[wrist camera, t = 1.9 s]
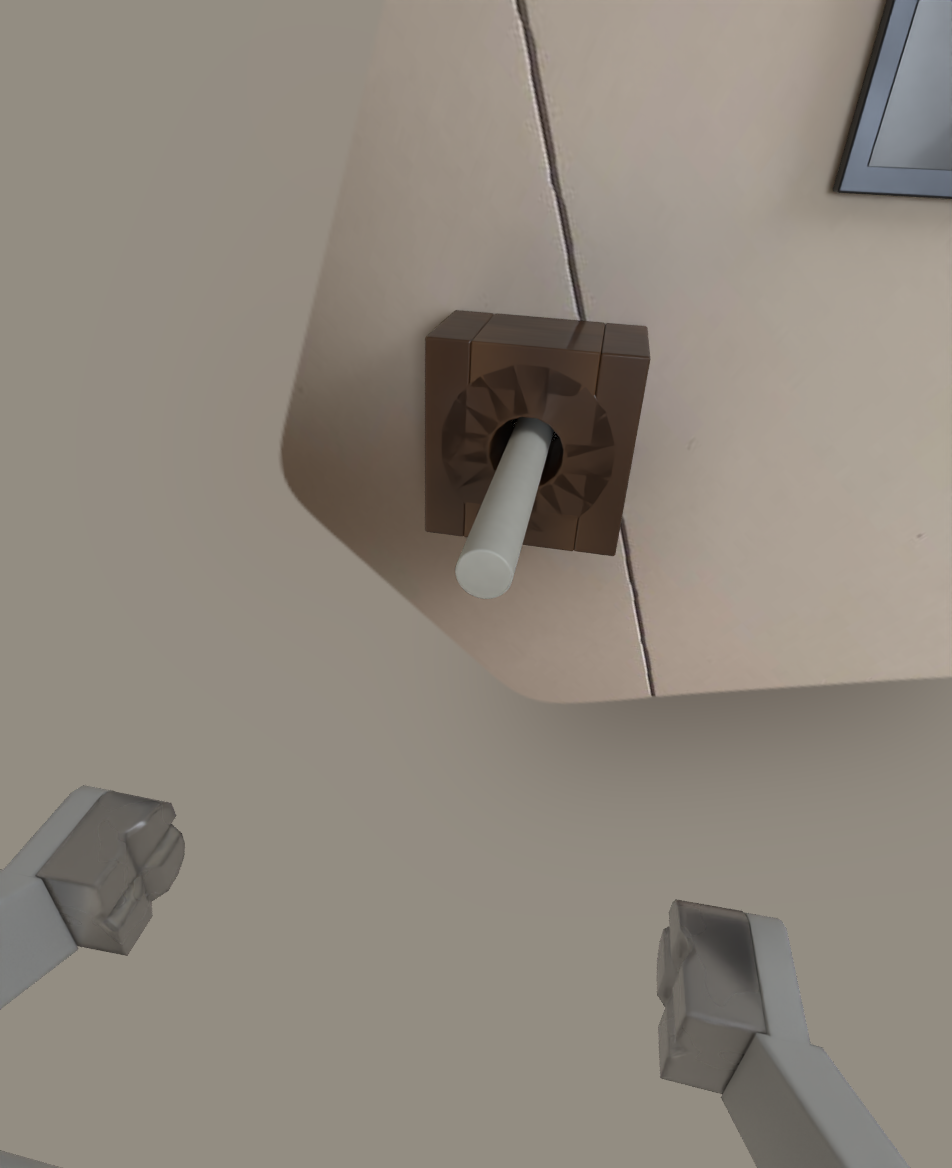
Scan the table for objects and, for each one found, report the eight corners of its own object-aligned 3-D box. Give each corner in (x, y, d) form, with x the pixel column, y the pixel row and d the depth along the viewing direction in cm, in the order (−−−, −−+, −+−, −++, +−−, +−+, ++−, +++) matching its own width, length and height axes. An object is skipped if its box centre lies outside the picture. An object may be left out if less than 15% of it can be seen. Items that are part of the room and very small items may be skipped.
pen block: (450, 484, 33) (424, 532, 29) (454, 309, 28) (424, 336, 24) (616, 504, 32) (614, 557, 27) (647, 326, 27) (651, 357, 23)
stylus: (520, 427, 31) (453, 595, 19) (523, 392, 30) (455, 546, 18) (556, 431, 30) (510, 603, 19) (560, 396, 29) (514, 553, 18)
